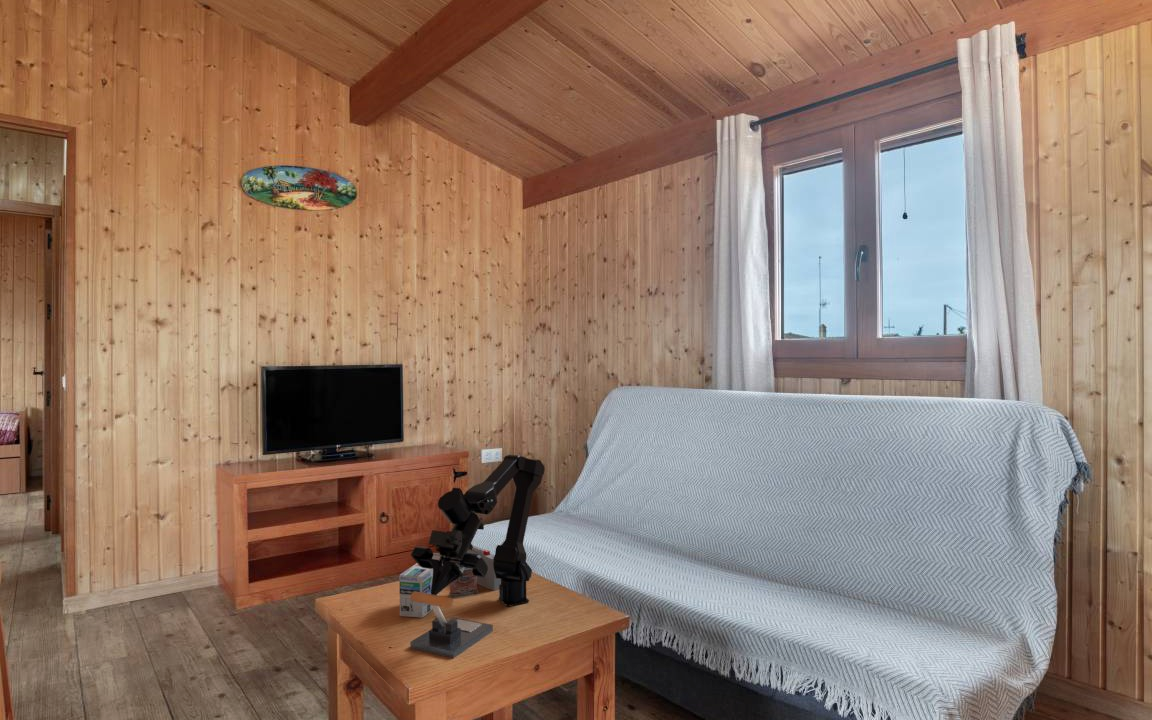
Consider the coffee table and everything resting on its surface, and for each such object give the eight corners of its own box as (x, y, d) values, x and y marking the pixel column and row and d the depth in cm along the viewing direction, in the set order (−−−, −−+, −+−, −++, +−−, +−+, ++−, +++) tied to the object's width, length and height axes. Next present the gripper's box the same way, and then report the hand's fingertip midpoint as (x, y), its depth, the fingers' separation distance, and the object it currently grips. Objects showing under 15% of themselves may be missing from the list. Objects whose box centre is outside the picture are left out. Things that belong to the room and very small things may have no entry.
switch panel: (452, 622, 167) (452, 601, 167) (492, 630, 161) (492, 608, 161) (410, 648, 152) (410, 624, 152) (453, 658, 147) (453, 633, 147)
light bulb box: (423, 618, 170) (422, 576, 170) (398, 616, 171) (398, 575, 171) (439, 603, 180) (439, 563, 180) (416, 601, 181) (416, 562, 181)
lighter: (450, 598, 184) (450, 562, 184) (448, 594, 187) (447, 559, 187) (479, 594, 187) (478, 558, 187) (476, 590, 190) (475, 555, 190)
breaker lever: (430, 617, 157) (414, 589, 152) (465, 624, 153) (450, 595, 148) (425, 625, 155) (409, 597, 150) (460, 632, 151) (445, 603, 146)
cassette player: (502, 588, 191) (501, 554, 191) (494, 591, 189) (494, 556, 189) (471, 576, 203) (471, 543, 202) (463, 578, 201) (463, 545, 201)
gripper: (416, 512, 159) (383, 570, 149) (481, 519, 151) (452, 581, 141) (436, 537, 166) (406, 595, 156) (499, 546, 158) (472, 607, 148)
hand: (432, 594), depth 150 cm, fingers closed, pressing on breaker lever
